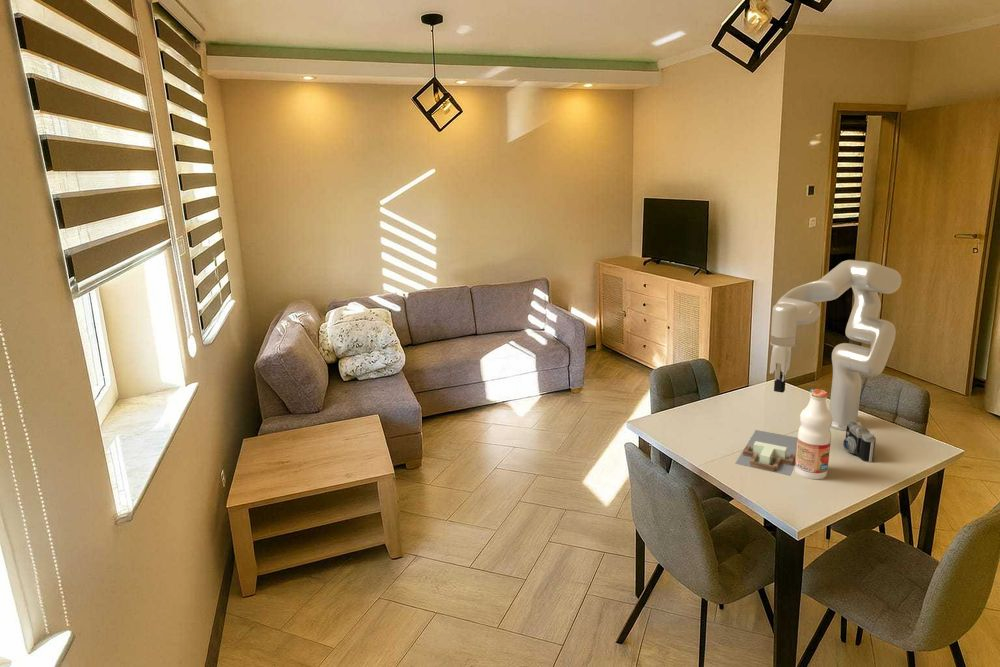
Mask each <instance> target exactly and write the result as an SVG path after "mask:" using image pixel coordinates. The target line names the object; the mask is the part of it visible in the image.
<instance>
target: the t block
mask: <svg viewBox="0 0 1000 667" xmlns="http://www.w3.org/2000/svg"><path fill="white" fill-rule="evenodd" d="M753 452H756V453H758V456H760V460H759V463H763V464H768V465H770V464H771V463H772V461H773V459H774V460H776V459H777V457H780V458H784V459H786V453H787V447H783V446H778V445H773V444H768V443H763V442H758V441H755V443H754V446H753Z"/></svg>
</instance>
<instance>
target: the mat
mask: <svg viewBox="0 0 1000 667" xmlns="http://www.w3.org/2000/svg"><path fill="white" fill-rule="evenodd" d="M755 441H758V442H763V443H768V444H773V445H778V446H783V447H787V453H786V459H789V458H790V455H791V453H792V454H795V459H796V448H797V436H796V437H795V436H789V435H784V434H779V433H775V432H770V431H764V430H758V429H755V430H754V432H753V434H752V435H751V437H750V438H749V440H748V442H747V443H746V445H745V447H744V448H743V450H742V451H741V454H740V455H739V457H738V458H737V460H736V461H735V463H734V464H735V465H739V466H744V467H749V468H753V469H757V470H761V471H766V472H770V473H776V474H779V475H784V476H789V477H791V475H792V473H793V470H794V469H795V459H794V461H793V464H792V466H790V465H786V464H781V463H780V465H779V467H778V469H777V471H776V470H775V471H774V472H773V471H768V470H764V469H759V468H755V467H751V465H750V460H751V458H752V457H748V456H743V451H744V449H745V448H746V446H747V445H751V449H750V451H751V452H753V446H754V443H755ZM759 460H760V456H758V458H757V460H756V462H759ZM775 461H776V460H774V459H773V461H772V463H771V464H770V465H774V463H775Z"/></svg>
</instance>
